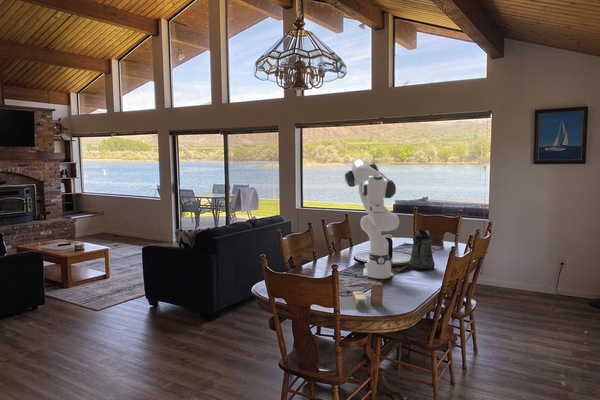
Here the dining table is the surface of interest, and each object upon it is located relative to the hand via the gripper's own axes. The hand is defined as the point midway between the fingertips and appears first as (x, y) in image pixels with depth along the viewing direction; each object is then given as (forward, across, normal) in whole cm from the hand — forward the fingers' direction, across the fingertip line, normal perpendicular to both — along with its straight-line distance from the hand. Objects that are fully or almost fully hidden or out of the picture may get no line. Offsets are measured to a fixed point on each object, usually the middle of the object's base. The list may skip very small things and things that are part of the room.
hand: (374, 231), depth 233 cm
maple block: (+31, +13, -10) cm, 35 cm away
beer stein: (+36, -48, +43) cm, 74 cm away
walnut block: (+34, +19, -2) cm, 39 cm away
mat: (+34, +16, -9) cm, 39 cm away
